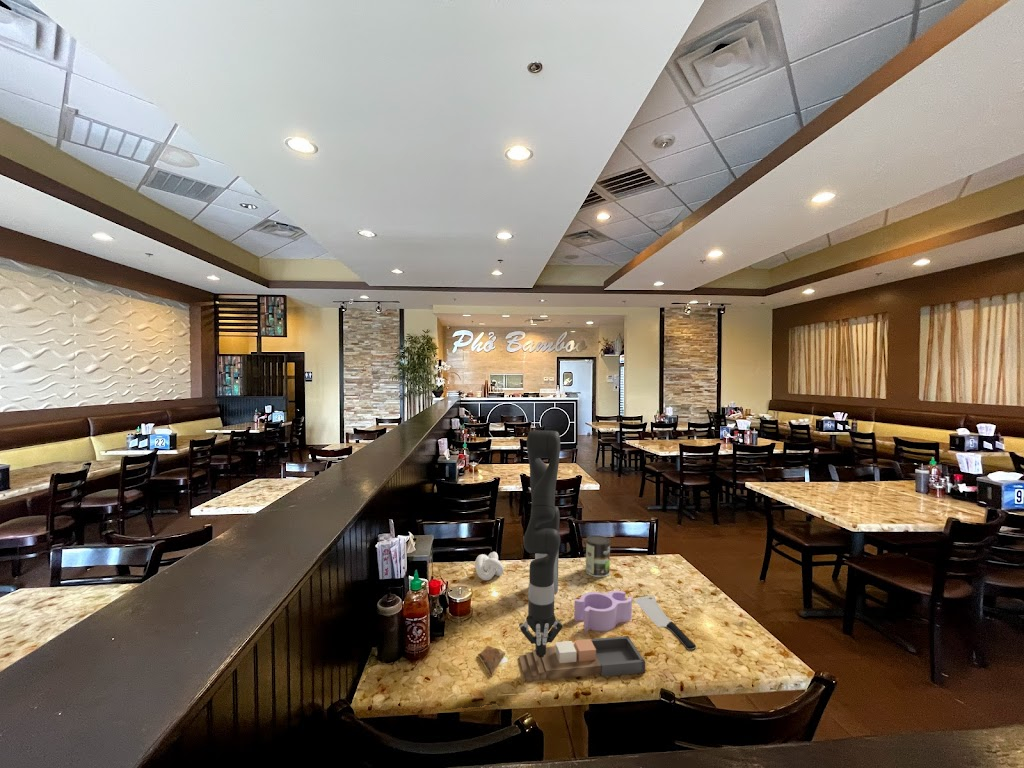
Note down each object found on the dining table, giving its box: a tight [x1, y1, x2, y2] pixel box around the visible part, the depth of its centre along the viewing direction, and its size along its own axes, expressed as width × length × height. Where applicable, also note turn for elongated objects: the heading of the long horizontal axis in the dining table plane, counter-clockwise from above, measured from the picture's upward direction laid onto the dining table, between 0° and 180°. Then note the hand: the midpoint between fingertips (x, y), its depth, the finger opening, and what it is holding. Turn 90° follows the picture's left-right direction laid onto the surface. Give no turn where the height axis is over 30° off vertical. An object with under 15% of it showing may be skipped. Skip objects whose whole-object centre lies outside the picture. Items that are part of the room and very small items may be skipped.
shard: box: [477, 645, 506, 678], centre depth 127 cm, size 11×8×2 cm
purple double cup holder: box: [573, 590, 633, 632], centre depth 150 cm, size 20×12×7 cm, turn 111°
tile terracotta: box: [573, 638, 596, 661], centre depth 127 cm, size 5×5×3 cm
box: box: [590, 635, 646, 678], centre depth 128 cm, size 13×12×3 cm
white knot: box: [474, 551, 505, 582], centre depth 181 cm, size 11×12×9 cm
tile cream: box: [554, 640, 576, 663], centre depth 126 cm, size 5×5×3 cm
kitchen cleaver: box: [632, 595, 697, 651], centre depth 148 cm, size 31×2×10 cm
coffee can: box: [585, 534, 611, 578], centre depth 185 cm, size 10×10×14 cm
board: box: [541, 646, 601, 680], centre depth 126 cm, size 16×10×2 cm, turn 98°
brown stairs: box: [518, 649, 547, 682], centre depth 124 cm, size 6×10×2 cm, turn 8°
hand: (540, 655), depth 125 cm, fingers closed
